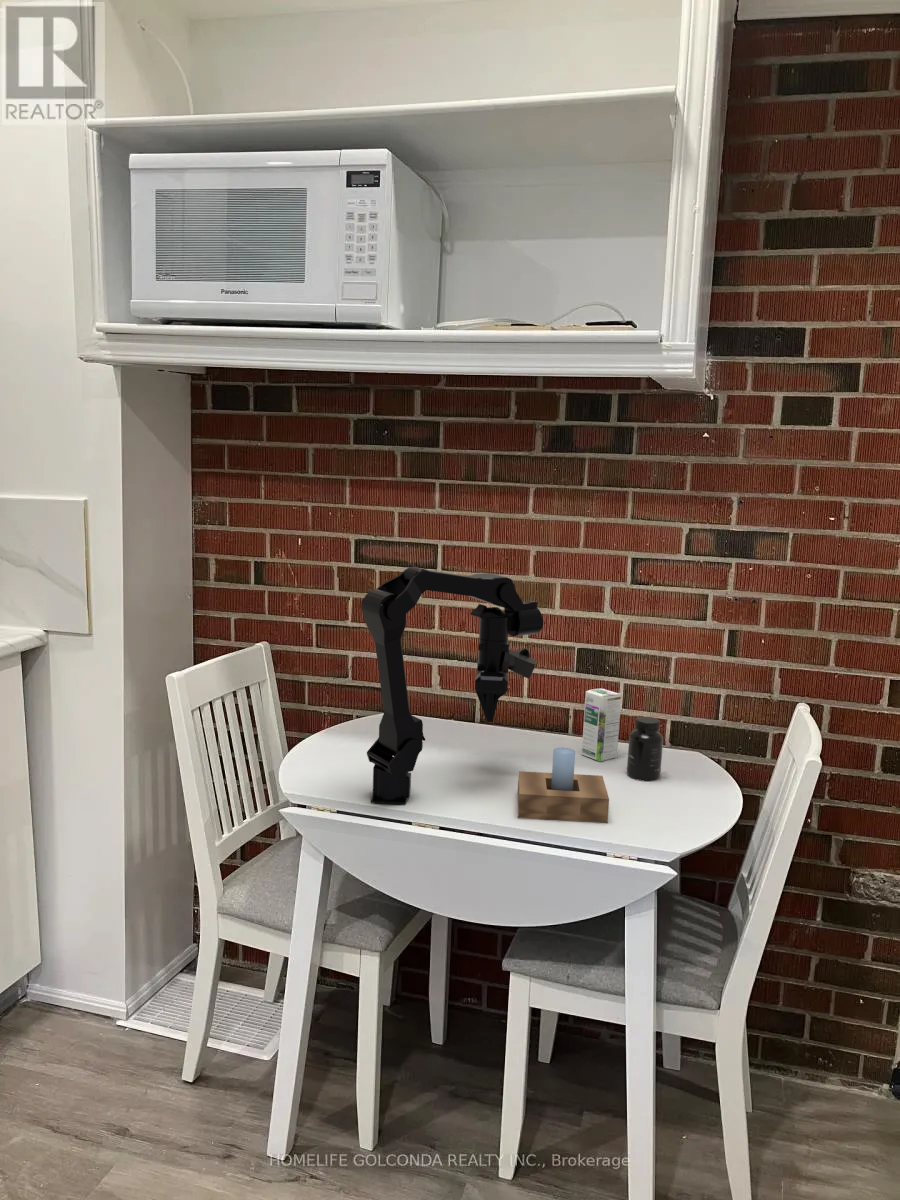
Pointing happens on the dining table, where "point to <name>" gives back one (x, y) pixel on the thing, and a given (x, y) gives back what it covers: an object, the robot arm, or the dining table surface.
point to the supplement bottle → (645, 750)
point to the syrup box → (601, 724)
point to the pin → (563, 769)
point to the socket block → (562, 798)
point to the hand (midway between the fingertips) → (490, 715)
